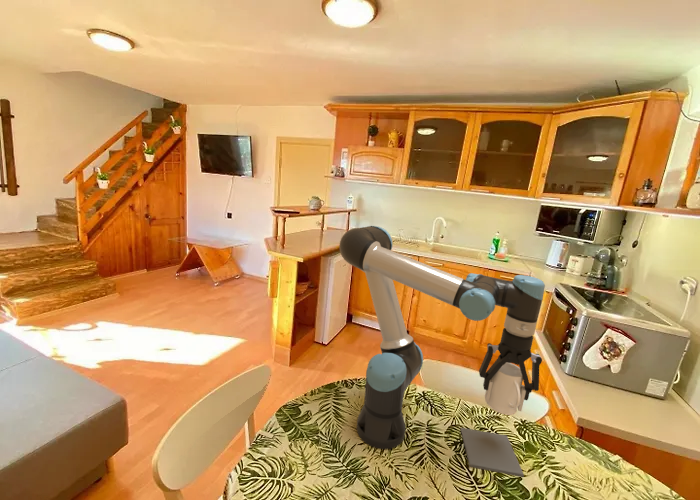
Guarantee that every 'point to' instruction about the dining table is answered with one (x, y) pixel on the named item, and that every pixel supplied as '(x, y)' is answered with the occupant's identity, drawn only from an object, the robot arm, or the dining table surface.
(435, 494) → the dining table surface
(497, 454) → the coaster
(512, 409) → the mug
